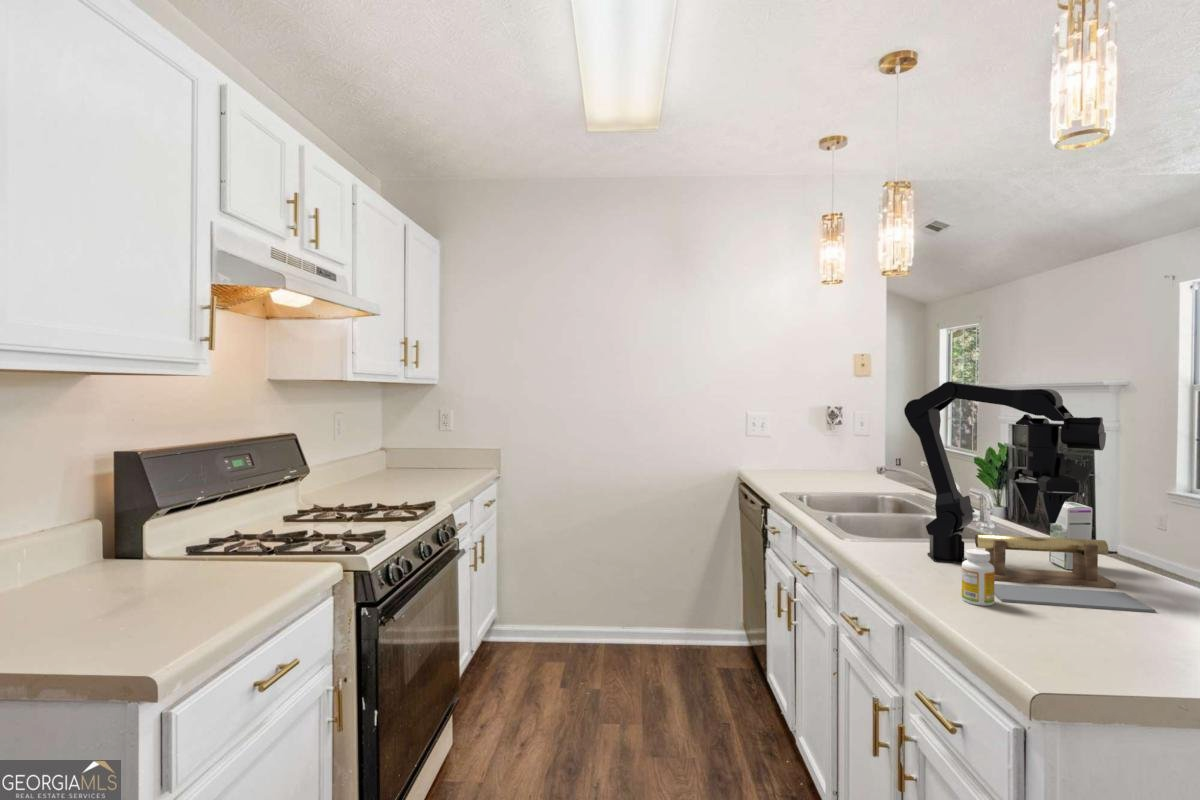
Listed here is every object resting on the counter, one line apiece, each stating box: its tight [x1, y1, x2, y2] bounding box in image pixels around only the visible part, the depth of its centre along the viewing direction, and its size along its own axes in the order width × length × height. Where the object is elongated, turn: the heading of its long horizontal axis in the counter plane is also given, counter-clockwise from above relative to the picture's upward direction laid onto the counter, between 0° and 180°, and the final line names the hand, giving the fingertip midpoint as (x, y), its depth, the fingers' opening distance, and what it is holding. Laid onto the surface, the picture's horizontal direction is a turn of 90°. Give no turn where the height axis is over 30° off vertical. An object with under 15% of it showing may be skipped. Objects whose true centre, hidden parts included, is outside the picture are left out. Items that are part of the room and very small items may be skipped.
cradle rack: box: [984, 540, 1117, 588], centre depth 132 cm, size 25×7×8 cm, turn 76°
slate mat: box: [994, 583, 1157, 613], centre depth 120 cm, size 25×10×1 cm, turn 76°
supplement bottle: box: [961, 548, 995, 607], centre depth 118 cm, size 5×5×10 cm
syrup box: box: [1048, 501, 1093, 571], centre depth 141 cm, size 6×6×14 cm
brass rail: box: [974, 533, 1109, 556], centre depth 132 cm, size 24×3×3 cm, turn 76°
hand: (1041, 518), depth 133 cm, fingers open, 9 cm apart
